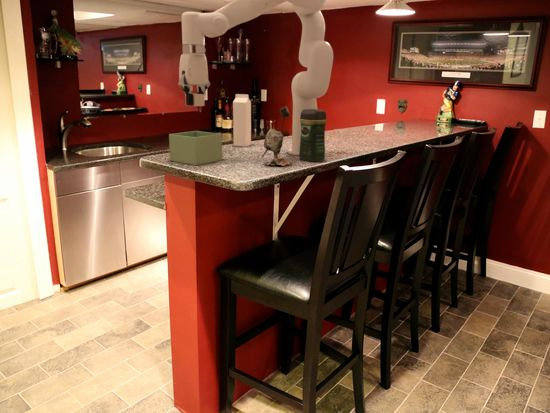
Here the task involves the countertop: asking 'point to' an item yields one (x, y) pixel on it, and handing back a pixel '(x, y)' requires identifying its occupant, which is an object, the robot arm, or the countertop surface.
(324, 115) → the coffee jar
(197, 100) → the beige grey block
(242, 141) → the milk
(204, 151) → the bin
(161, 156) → the countertop surface
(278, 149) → the plant with pod
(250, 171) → the countertop surface
